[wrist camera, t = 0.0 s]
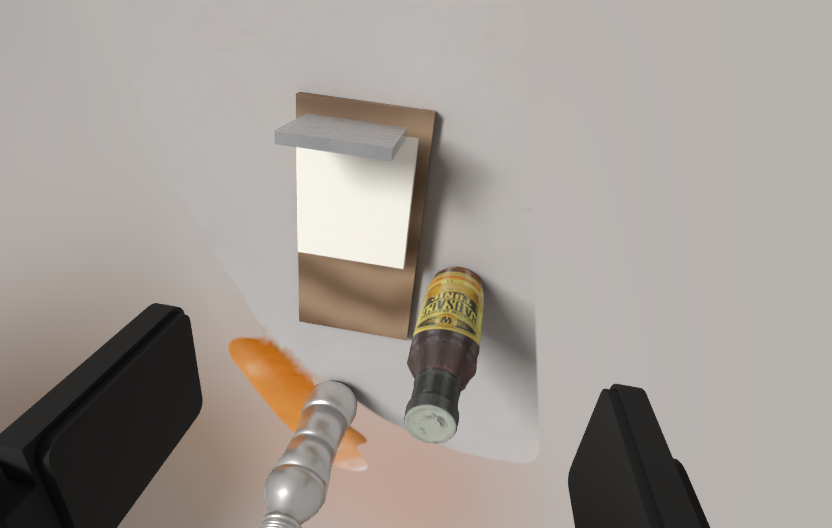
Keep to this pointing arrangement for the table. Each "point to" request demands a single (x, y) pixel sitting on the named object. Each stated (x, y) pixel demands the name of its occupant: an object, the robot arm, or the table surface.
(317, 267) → the clip board
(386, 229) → the white bracket
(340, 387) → the silver water bottle
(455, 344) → the sauce bottle
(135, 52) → the table surface
